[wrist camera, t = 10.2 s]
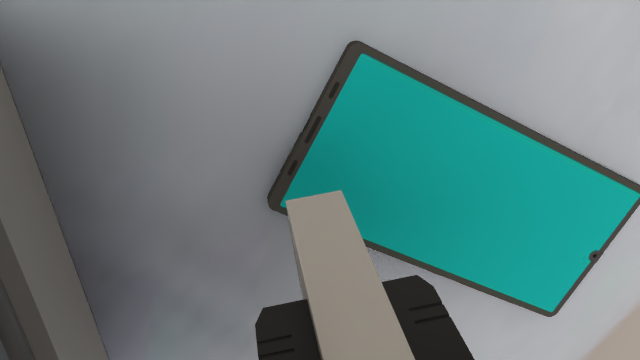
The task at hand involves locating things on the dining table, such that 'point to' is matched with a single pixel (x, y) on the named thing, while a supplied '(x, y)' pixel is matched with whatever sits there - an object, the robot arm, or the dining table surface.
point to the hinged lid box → (38, 253)
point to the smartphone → (455, 183)
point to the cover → (12, 332)
